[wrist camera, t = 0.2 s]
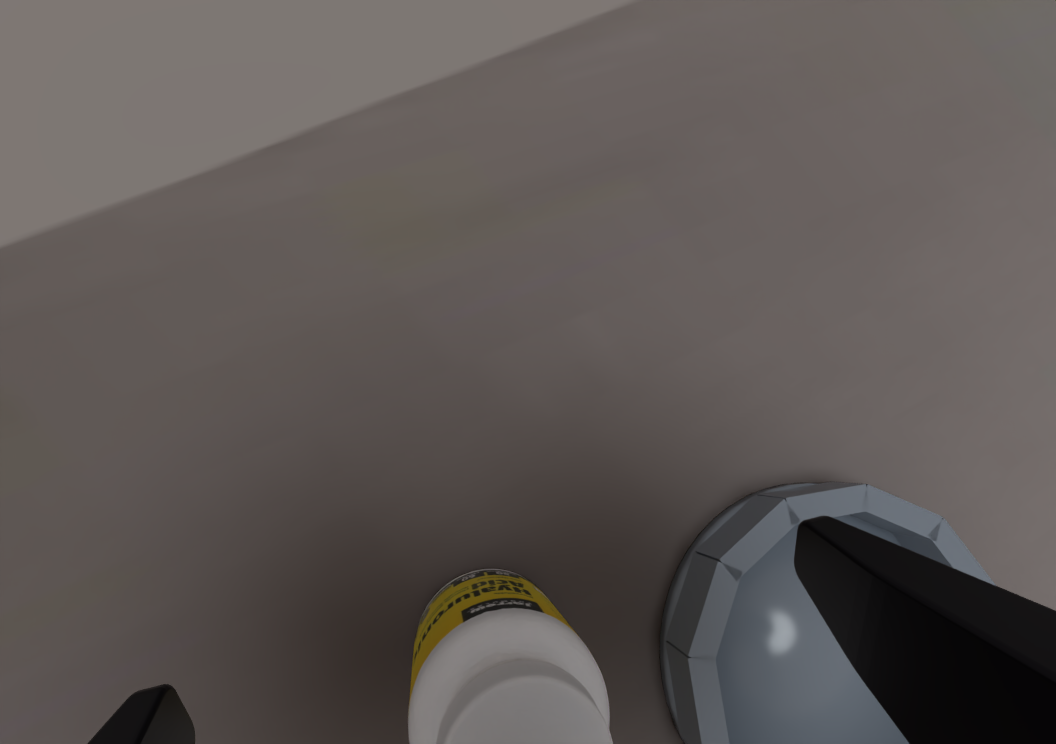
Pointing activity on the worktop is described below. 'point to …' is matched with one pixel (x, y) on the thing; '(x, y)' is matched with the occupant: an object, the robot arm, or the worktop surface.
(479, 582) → the supplement bottle
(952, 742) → the robot arm
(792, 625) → the round dish
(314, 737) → the worktop surface
